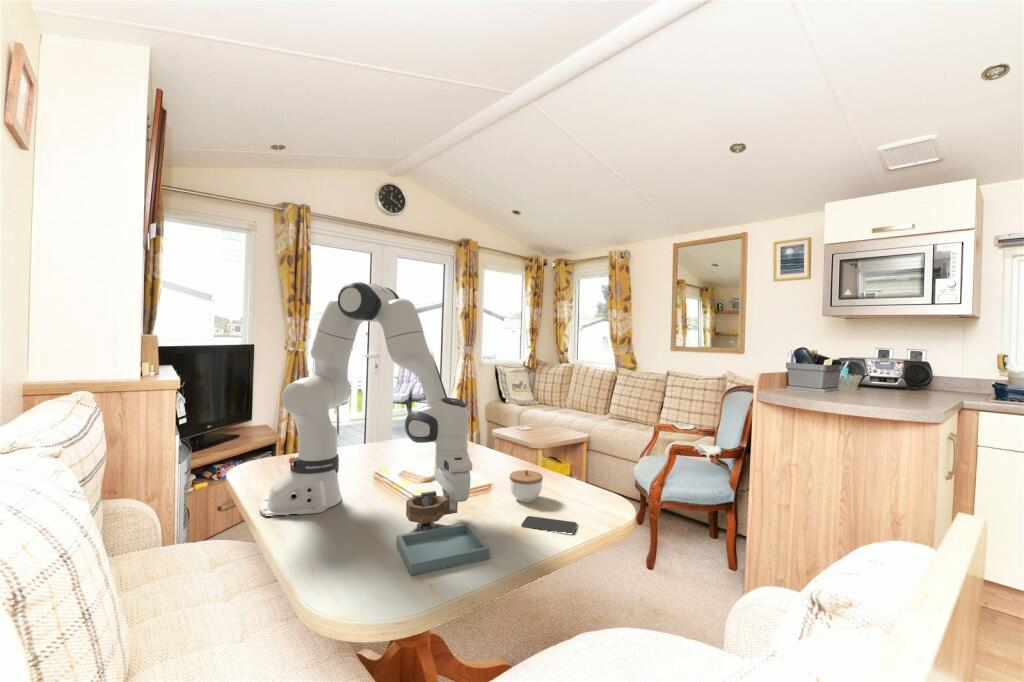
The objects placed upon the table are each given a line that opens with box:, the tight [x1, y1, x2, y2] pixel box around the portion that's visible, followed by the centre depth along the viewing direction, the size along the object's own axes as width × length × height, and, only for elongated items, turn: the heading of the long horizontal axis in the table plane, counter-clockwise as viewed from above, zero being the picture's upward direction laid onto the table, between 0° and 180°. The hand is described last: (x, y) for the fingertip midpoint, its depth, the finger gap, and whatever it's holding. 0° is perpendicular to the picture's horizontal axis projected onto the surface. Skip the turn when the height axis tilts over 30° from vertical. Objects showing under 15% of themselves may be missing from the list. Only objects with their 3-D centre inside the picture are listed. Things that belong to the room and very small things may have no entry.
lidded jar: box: [509, 469, 544, 503], centre depth 145 cm, size 11×11×9 cm
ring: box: [405, 494, 459, 524], centre depth 123 cm, size 14×9×4 cm
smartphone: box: [520, 515, 578, 533], centre depth 126 cm, size 7×1×15 cm
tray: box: [395, 522, 491, 576], centre depth 110 cm, size 19×15×2 cm
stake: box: [416, 490, 437, 532], centre depth 123 cm, size 5×5×10 cm
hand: (449, 505), depth 126 cm, fingers closed on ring, 3 cm apart
